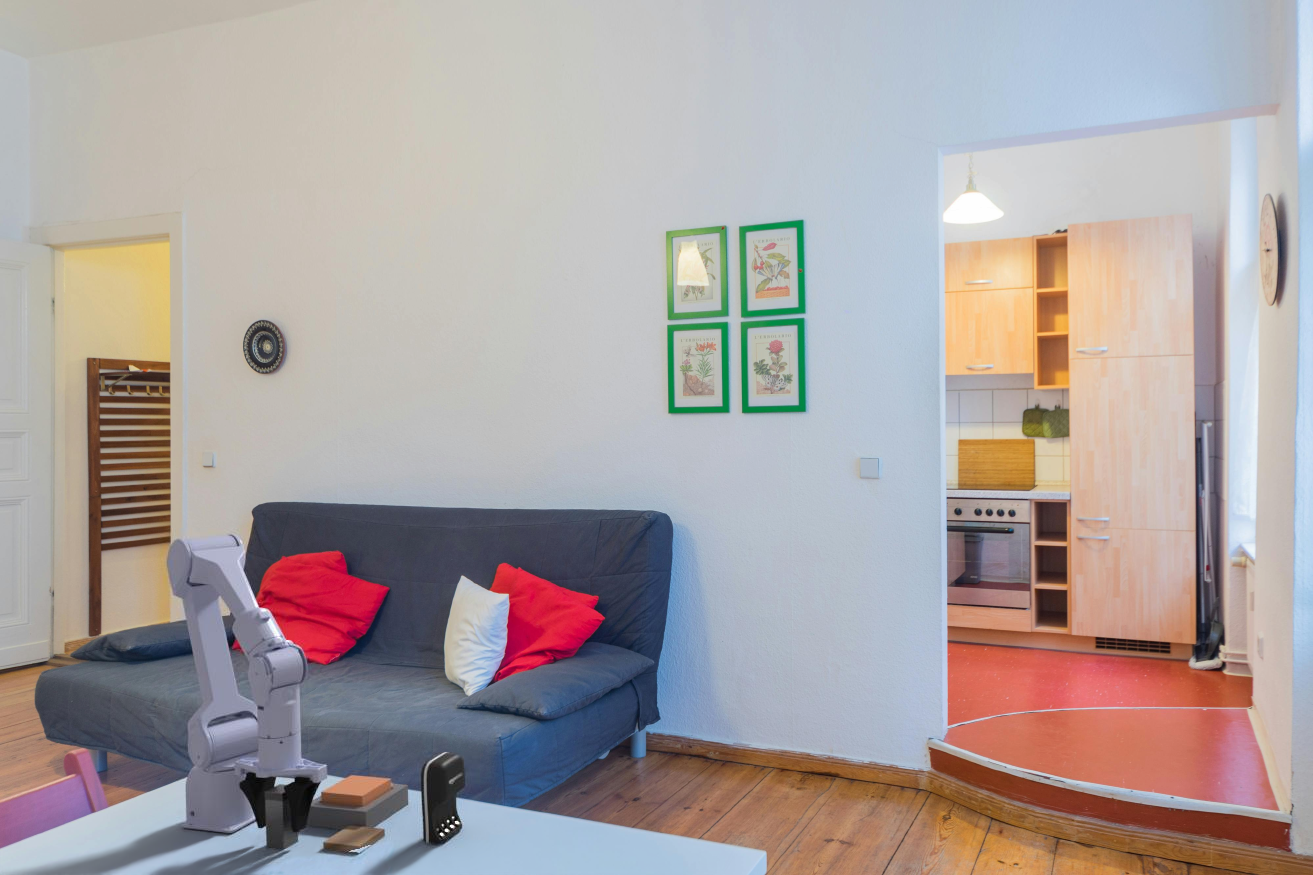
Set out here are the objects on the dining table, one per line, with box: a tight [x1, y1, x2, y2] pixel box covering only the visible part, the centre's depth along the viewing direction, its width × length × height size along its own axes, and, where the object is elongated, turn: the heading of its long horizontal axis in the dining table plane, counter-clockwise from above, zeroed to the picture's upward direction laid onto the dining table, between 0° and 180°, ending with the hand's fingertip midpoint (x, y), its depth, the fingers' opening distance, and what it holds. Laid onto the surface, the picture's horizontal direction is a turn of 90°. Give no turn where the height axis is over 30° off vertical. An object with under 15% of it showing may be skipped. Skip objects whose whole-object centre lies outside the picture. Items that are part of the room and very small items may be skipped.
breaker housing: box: [306, 782, 409, 830], centre depth 142 cm, size 11×11×3 cm
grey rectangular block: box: [264, 783, 299, 851], centre depth 132 cm, size 3×3×8 cm
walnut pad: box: [322, 825, 386, 853], centre depth 131 cm, size 6×6×1 cm
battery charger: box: [420, 751, 466, 845], centre depth 132 cm, size 7×4×11 cm, turn 161°
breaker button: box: [320, 774, 392, 807], centre depth 142 cm, size 7×7×2 cm
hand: (282, 827), depth 131 cm, fingers open, 5 cm apart
